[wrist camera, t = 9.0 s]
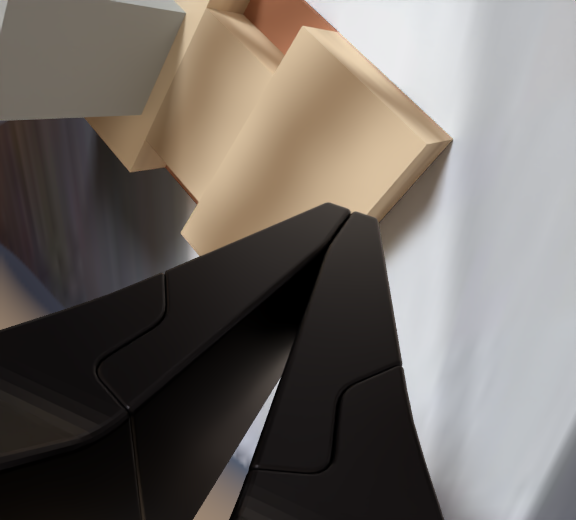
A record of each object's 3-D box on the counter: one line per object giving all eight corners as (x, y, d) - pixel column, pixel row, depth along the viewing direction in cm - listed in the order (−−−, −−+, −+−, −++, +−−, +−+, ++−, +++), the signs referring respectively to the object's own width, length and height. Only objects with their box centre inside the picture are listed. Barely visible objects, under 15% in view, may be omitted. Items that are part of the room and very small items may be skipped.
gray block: (186, 13, 21) (11, -16, 15) (140, 115, 24) (-20, 121, 18) (114, -62, 22) (-72, -113, 17) (79, 44, 25) (-89, 30, 20)
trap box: (453, 139, 19) (350, 159, 13) (297, 314, 25) (178, 383, 19) (172, -124, 23) (-4, -199, 17) (97, 82, 29) (-53, 80, 23)
